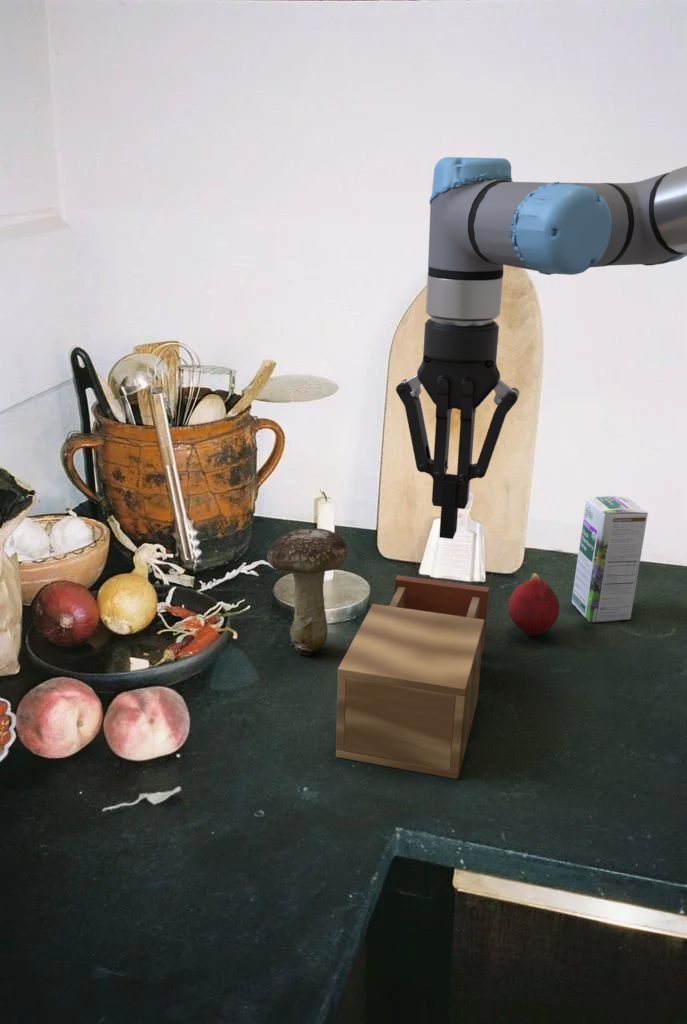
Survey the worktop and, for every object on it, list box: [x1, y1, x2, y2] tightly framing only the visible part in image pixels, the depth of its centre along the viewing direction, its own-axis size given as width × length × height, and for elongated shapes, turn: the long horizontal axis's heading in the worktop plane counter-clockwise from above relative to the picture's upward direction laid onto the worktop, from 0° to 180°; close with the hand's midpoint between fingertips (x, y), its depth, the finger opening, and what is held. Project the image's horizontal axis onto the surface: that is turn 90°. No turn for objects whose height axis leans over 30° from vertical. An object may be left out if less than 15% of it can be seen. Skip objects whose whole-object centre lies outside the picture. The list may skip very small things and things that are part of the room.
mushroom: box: [266, 528, 349, 656], centre depth 103 cm, size 9×9×15 cm
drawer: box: [388, 574, 490, 655], centre depth 102 cm, size 17×10×8 cm, turn 165°
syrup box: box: [571, 495, 649, 623], centre depth 115 cm, size 6×6×14 cm
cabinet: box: [335, 603, 485, 780], centre depth 91 cm, size 14×12×10 cm
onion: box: [507, 572, 560, 637], centre depth 110 cm, size 6×6×8 cm
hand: (448, 533), depth 104 cm, fingers closed
